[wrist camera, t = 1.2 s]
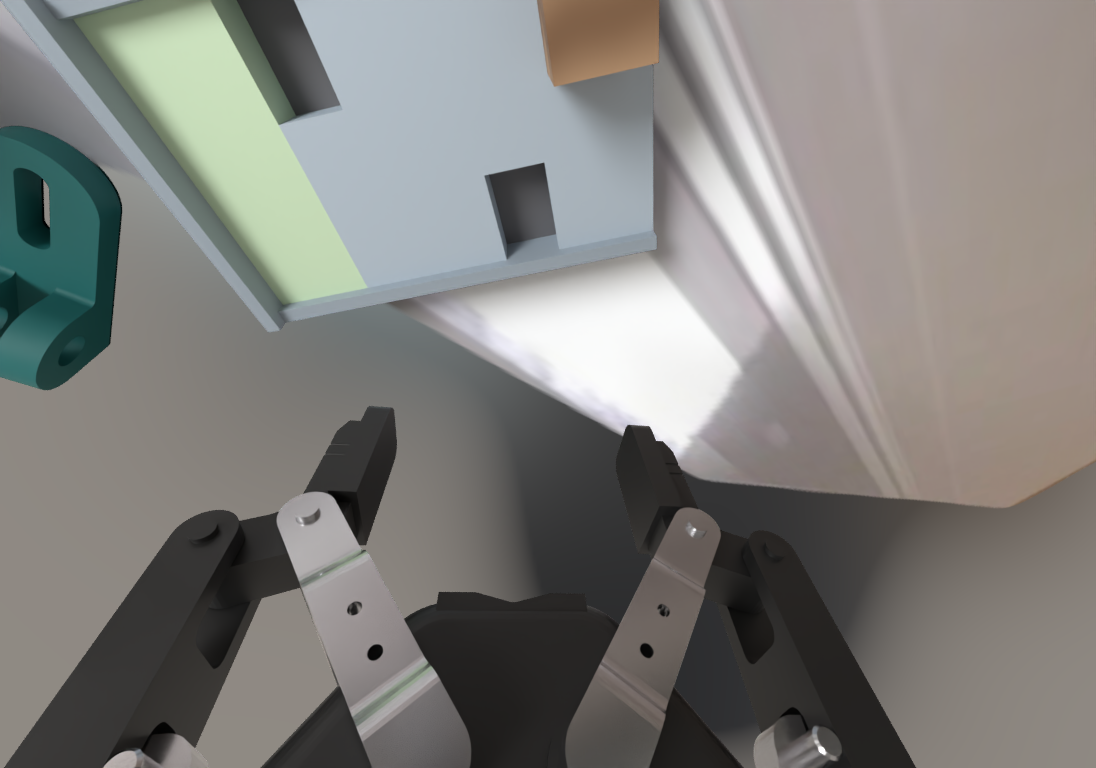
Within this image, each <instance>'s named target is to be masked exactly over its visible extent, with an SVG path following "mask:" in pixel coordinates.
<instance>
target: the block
mask: <svg viewBox="0 0 1096 768" xmlns="http://www.w3.org/2000/svg"><path fill="white" fill-rule="evenodd" d="M537 5H538V12H539V19H540V26H541V33H542V40H543V47H544V54H545V61H546V67H547V74H548V76H549V78H550V80H551V82H552V84H553V86H554V87H556V86H560V85H565V84H569V83H573V82H578V81H582V80H586V79H591V78H595V77H599V76H604V75H608V74H612V73H617V72H621V71H625V70H630V69H634V68H638V67H643V66H647V65H651V64H656V63H659V0H537Z"/></svg>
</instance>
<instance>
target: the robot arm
mask: <svg viewBox="0 0 1096 768" xmlns="http://www.w3.org/2000/svg"><path fill="white" fill-rule="evenodd" d="M396 449H397V439H396V427H395V416H394V409H393V408H389V407H374V406H369V407H368V408H367V410H366V412H365V414H364V416H363V418H362V420H361V421H349V422H348V423H346V424H345V425H344V426H343V427H341V428H340V429H339V430H338V431H337V432H336V434H335V436H334V438H333V440H332V442H331V445H330V446H329V447H328V449H327V451H326V454H325V455H324V456H323V459H322V460H321V462H320V464H319V466H318V468H317V469H316V472H315V473H314V475H313V477H312V479H311V481H310V482H309V484H308V486H307V488H306V490H305V492H304V493H303V494H302V495H299V496H297V497H295V498H293V499H291V500H290V501H288V502H287V503H286V504H285V505H284V506H283V507H282V508H281V510H280V511H279V512H276V513H274V514H270V515H266V516H261V517H256V518H251V519H247V520H242V521H239V520H238V518H237V516H236V515H235V514H234V513H232V512H229V511H224V510H213V511H208V512H204V513H201V514H198V515H196V516H194V517H192V518H190V519H188V520H186V521H185V522H183V523H182V524H181V525H180V526H178V527H177V528H176V529H175V530H174V532H173V533H172V534H171V535H170V537H169V538H168V540H167V541H166V542H165V544H164V545H163V546H162V548H161V549H160V551H159V552H158V553H157V555H156V556H155V558H154V559H153V560H152V562H151V563H150V565H149V566H148V567H147V569H146V570H145V571H144V573H143V574H142V576H141V577H140V579H139V580H138V581H137V583H136V584H135V586H134V587H133V588H132V590H131V591H130V592H129V594H128V595H127V597H126V598H125V600H124V601H123V602H122V604H121V605H120V606H119V608H118V609H117V611H116V612H115V613H114V615H113V616H112V618H111V619H110V620H109V622H108V623H107V625H106V626H105V627H104V629H103V630H102V632H101V633H100V634H99V636H98V637H97V639H96V640H95V641H94V643H93V644H92V646H91V647H90V648H89V650H88V651H87V653H86V654H85V655H84V657H83V658H82V660H81V661H80V662H79V664H78V665H77V667H76V668H75V670H74V671H73V672H72V674H71V675H70V676H69V678H68V679H67V681H66V682H65V683H64V685H63V686H62V687H61V689H60V690H59V692H58V693H57V695H56V696H55V697H54V699H53V700H52V701H51V703H50V704H49V706H48V707H47V708H46V710H45V711H44V713H43V714H42V716H41V717H40V718H39V720H38V721H37V722H36V724H35V725H34V727H33V728H32V730H31V731H30V732H29V734H28V735H27V736H26V738H25V740H24V741H23V742H22V743H21V745H20V746H19V748H18V749H17V750H16V752H15V753H14V755H13V756H12V757H11V759H10V760H9V762H8V763H7V764H6V766H5V767H4V768H209V765H208V762H207V761H206V759H205V758H204V757H203V756H202V755H201V754H200V753H199V752H198V751H197V750H196V749H195V747H196V745H197V742H198V740H199V738H200V736H201V733H202V731H203V729H204V727H205V725H206V722H207V720H208V718H209V716H210V713H211V711H212V709H213V707H214V704H215V702H216V700H217V698H218V695H219V693H220V691H221V689H222V686H223V684H224V682H225V679H226V677H227V675H228V673H229V670H230V668H231V666H232V664H233V662H234V659H235V657H236V655H237V652H238V650H239V648H240V646H241V644H242V641H243V639H244V637H245V635H246V632H247V630H248V628H249V626H250V623H251V621H252V619H253V617H254V614H255V612H256V610H257V607H258V605H259V603H260V601H261V599H262V598H264V597H268V596H272V595H275V594H279V593H282V592H286V591H290V590H293V589H297V588H300V589H301V592H302V594H303V597H304V600H305V602H306V605H307V607H308V610H309V612H310V615H311V618H312V620H313V623H314V625H315V628H316V631H317V633H318V636H319V638H320V641H321V644H322V647H323V649H324V652H325V655H326V657H327V660H328V663H329V665H330V668H331V671H332V673H333V676H334V678H335V681H336V683H337V687H336V688H335V690H334V691H333V692H332V693H331V694H330V695H329V696H328V697H327V698H326V699H325V700H324V701H323V702H322V703H321V704H320V705H319V707H318V708H317V709H316V710H315V711H314V712H313V713H312V714H311V715H310V716H309V717H308V718H307V719H306V720H305V721H304V722H303V723H302V724H301V726H300V727H299V728H298V729H297V730H296V731H295V732H294V733H293V734H292V735H291V736H290V737H289V738H288V739H287V740H286V741H285V742H284V744H283V745H282V746H281V747H280V748H279V749H278V750H277V751H276V752H275V753H274V754H273V755H272V756H271V757H270V758H269V759H268V760H267V762H265V764H264V765H263V766H262V767H261V768H743V767H742V765H741V764H740V763H739V762H738V761H737V759H736V758H735V757H734V756H733V755H732V754H731V753H730V752H729V750H728V749H727V748H726V747H725V746H724V744H723V743H722V742H721V741H720V740H719V739H718V738H717V736H716V735H715V734H714V733H713V732H712V731H711V729H710V728H709V727H708V726H707V725H706V724H705V722H704V721H703V720H702V719H701V718H700V717H699V715H698V714H697V713H696V712H695V711H694V710H693V708H692V707H691V706H690V705H689V704H688V703H687V702H686V701H685V699H684V698H683V697H682V696H681V695H680V693H679V692H678V691H677V690H676V689H675V688H674V683H675V681H676V678H677V675H678V672H679V669H680V666H681V663H682V660H683V657H684V654H685V651H686V648H687V645H688V643H689V640H690V637H691V634H692V631H693V628H694V625H695V622H696V619H697V616H698V613H699V610H700V607H701V604H702V601H703V598H705V599H708V600H711V601H714V602H716V603H717V605H718V608H719V611H720V614H721V617H722V620H723V623H724V626H725V629H726V632H727V635H728V637H729V640H730V643H731V646H732V649H733V652H734V655H735V658H736V661H737V664H738V667H739V670H740V672H741V675H742V678H743V681H744V684H745V687H746V690H747V693H748V696H749V699H750V702H751V704H752V707H753V710H754V713H755V716H756V719H757V722H758V725H759V728H760V731H761V734H760V735H759V736H758V737H757V739H756V741H755V745H754V761H755V765H756V768H916V767H915V765H914V763H913V761H912V760H911V758H910V756H909V754H908V752H907V751H906V749H905V747H904V745H903V744H902V742H901V740H900V738H899V736H898V735H897V733H896V731H895V729H894V728H893V726H892V724H891V722H890V720H889V718H888V717H887V715H886V713H885V711H884V710H883V708H882V706H881V704H880V702H879V701H878V699H877V697H876V695H875V693H874V692H873V690H872V688H871V686H870V685H869V683H868V681H867V679H866V678H865V676H864V674H863V672H862V670H861V668H860V667H859V665H858V663H857V662H856V660H855V658H854V656H853V654H852V653H851V651H850V649H849V647H848V645H847V643H846V642H845V640H844V638H843V636H842V635H841V633H840V631H839V629H838V628H837V626H836V624H835V622H834V620H833V619H832V617H831V615H830V613H829V611H828V610H827V608H826V606H825V604H824V602H823V600H822V599H821V597H820V595H819V594H818V592H817V590H816V588H815V586H814V584H813V583H812V581H811V579H810V577H809V576H808V574H807V572H806V570H805V569H804V567H803V565H802V563H801V561H800V559H799V558H798V556H797V554H796V552H795V551H794V549H793V548H792V547H791V546H790V545H789V544H788V543H787V542H786V541H785V540H784V539H782V538H781V537H779V536H778V535H776V534H774V533H771V532H768V531H760V530H759V531H755V532H753V533H752V534H751V535H750V537H749V538H748V539H746V538H743V537H740V536H737V535H733V534H731V533H728V532H724V531H722V530H720V529H719V527H718V525H717V523H716V522H715V521H714V520H713V519H712V518H711V517H710V516H709V515H708V514H706V513H705V512H703V511H701V510H699V509H698V507H697V505H696V502H695V500H694V498H693V496H692V494H691V491H690V489H689V487H688V485H687V483H686V480H685V478H684V476H683V475H682V471H681V469H680V467H679V466H678V462H677V460H676V458H675V456H674V453H673V452H672V451H671V449H670V448H669V447H668V446H667V445H666V444H665V443H664V442H663V441H656V440H655V437H654V435H653V432H652V430H651V428H650V427H649V426H638V425H628V426H627V427H626V429H625V432H624V435H623V438H622V442H621V444H620V447H619V450H618V453H617V457H616V473H617V477H618V481H619V484H620V488H621V491H622V495H623V499H624V503H625V507H626V510H627V514H628V517H629V521H630V525H631V529H632V532H633V536H634V540H635V544H636V547H637V551H638V553H640V554H650V556H651V558H652V561H651V563H650V566H649V567H648V569H647V572H646V573H645V575H644V577H643V580H642V581H641V583H640V585H639V588H638V589H637V592H636V593H635V595H634V597H633V599H632V601H631V603H630V605H629V607H628V609H627V611H626V613H625V616H624V617H623V619H622V621H621V623H620V625H619V624H618V623H617V622H616V621H615V620H613V619H612V618H610V617H609V616H608V615H606V614H605V613H603V612H601V611H599V610H597V609H595V608H593V607H590V606H587V605H586V598H585V594H561V593H550V594H546V595H542V596H538V597H534V598H531V599H527V600H523V601H519V602H508V601H504V600H501V599H498V598H494V597H491V596H487V595H483V594H480V593H476V592H439V594H438V600H437V604H434V605H430V606H427V607H425V608H422V609H420V610H418V611H416V612H414V613H412V614H410V615H409V616H408V617H406V618H403V616H402V615H401V613H400V611H399V609H398V607H397V605H396V604H395V602H394V600H393V598H392V596H391V594H390V592H389V591H388V589H387V587H386V585H385V583H384V582H383V579H382V578H381V576H380V574H379V572H378V570H377V568H376V566H375V564H374V563H373V561H372V559H371V557H370V555H369V554H368V552H367V551H366V550H363V551H362V549H361V548H360V546H359V545H366V544H367V541H368V537H369V535H370V532H371V529H372V526H373V523H374V520H375V517H376V514H377V511H378V508H379V505H380V502H381V499H382V496H383V493H384V490H385V487H386V484H387V481H388V478H389V475H390V472H391V469H392V466H393V463H394V460H395V456H396Z"/></svg>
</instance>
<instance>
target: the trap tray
mask: <svg viewBox="0 0 1096 768" xmlns="http://www.w3.org/2000/svg"><path fill="white" fill-rule="evenodd" d="M0 1H1V2H2V4H3V5H4V6H5V7H6V9H7V10H8V11H9V12H10V13H11V15H12V16H13V17H14V18H15V20H16V21H17V22H18V23H19V25H20V26H21V27H22V28H23V30H24V31H25V32H26V33H27V35H28V36H29V37H30V38H31V39H32V41H33V42H34V43H35V44H36V46H37V47H38V48H39V49H40V51H41V52H42V53H43V54H44V56H45V57H46V58H47V59H48V61H49V62H50V63H51V64H52V65H53V67H54V68H55V69H56V70H57V72H58V73H59V74H60V75H61V77H62V78H63V79H64V80H65V82H66V83H67V84H68V85H69V86H70V88H71V89H72V90H73V91H74V93H75V94H76V95H77V96H78V98H79V99H80V100H81V101H82V103H83V104H84V105H85V106H86V108H87V109H88V110H89V111H90V112H91V114H92V115H93V116H94V117H95V119H96V120H97V121H98V122H99V124H100V125H101V126H102V127H103V129H104V130H105V131H106V132H107V134H108V135H109V136H110V137H111V138H112V140H113V141H114V142H115V143H116V145H117V146H118V147H119V148H120V150H121V151H122V152H123V153H124V155H125V156H126V157H127V158H128V160H129V161H130V162H131V163H132V164H133V166H134V167H135V168H136V169H137V171H138V172H139V173H140V174H141V176H142V177H143V178H144V179H145V181H146V182H147V183H148V184H149V186H150V187H151V188H152V189H153V190H154V192H155V193H156V194H157V195H158V197H159V198H160V199H161V200H162V202H163V203H164V204H165V205H166V206H167V208H168V209H169V210H170V211H171V213H172V214H173V215H174V216H175V218H176V219H177V220H178V221H179V223H180V224H181V225H182V226H183V228H184V229H185V230H186V231H187V233H188V234H189V235H190V236H191V237H192V239H193V240H194V241H195V242H196V244H197V245H198V246H199V247H200V248H201V250H202V251H203V252H204V253H205V255H206V256H207V257H208V259H209V260H210V261H211V262H212V263H213V265H214V266H215V267H216V268H217V270H218V271H219V272H220V273H221V275H222V276H223V277H224V278H225V280H226V281H227V282H228V283H229V285H230V286H231V287H232V288H233V289H234V291H235V292H236V293H237V294H238V296H239V297H240V298H241V299H242V301H243V302H244V303H245V304H246V306H247V307H248V308H249V309H250V310H251V312H252V313H253V314H254V315H255V317H256V318H257V319H258V320H259V322H260V323H261V324H262V325H263V326H264V328H265V329H266V330H267V331H268V332H273V331H278V330H281V329H282V327H283V326H284V324H285V323H286V322H291V321H296V320H301V319H306V318H311V317H316V316H321V315H327V314H332V313H337V312H342V311H347V310H352V309H357V308H362V307H367V306H372V305H377V304H382V303H387V302H393V301H398V300H403V299H408V298H413V297H418V296H423V295H428V294H433V293H438V292H443V291H448V290H453V289H458V288H463V287H468V286H473V285H479V284H484V283H489V282H494V281H499V280H504V279H509V278H514V277H519V276H524V275H529V274H534V273H539V272H544V271H549V270H554V269H560V268H565V267H570V266H575V265H580V264H585V263H590V262H595V261H600V260H605V259H610V258H615V257H620V256H625V255H630V254H635V253H641V252H646V251H651V250H656V249H657V236H656V234H655V233H654V231H653V64H651V65H647V66H643V67H638V68H634V69H630V70H625V71H621V72H617V73H612V74H608V75H604V76H599V77H595V78H591V79H586V80H582V81H578V82H573V83H569V84H565V85H560V86H556V87H554V86H553V84H552V82H551V80H550V78H549V76H548V74H547V67H546V61H545V54H544V47H543V40H542V33H541V26H540V19H539V12H538V5H537V0H0Z"/></svg>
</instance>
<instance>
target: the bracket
mask: <svg viewBox="0 0 1096 768" xmlns="http://www.w3.org/2000/svg"><path fill="white" fill-rule="evenodd" d="M43 180H44V181H45V182H46V183H47V185H48V187H49V200H50V227H49V226H48V225H47V223H46V222H45V217H44V183H43ZM121 221H122V202H121V199H120V196H119V193H118V191H117V189H116V188H115V186H114V184H113V182H112V181H111V180H110V178H109V177H108V176H107V174H106V173H105V172H104V171H103V170H102V169H101V168H100V167H99V165H96V164H94V163H93V162H91V161H90V160H89V159H88V158H87V157H86V156H84V155H83V154H82V153H81V152H79V151H78V150H77V149H75V148H74V147H72V146H70V145H69V144H67V143H66V142H64V141H62V140H60V139H58V138H56V137H54V136H52V135H50V134H48V133H45V132H42V131H39V130H36V129H33V128H28V127H22V126H9V127H3V128H0V377H2V378H5V379H8V380H12V381H15V382H18V383H22V384H25V385H29V386H32V387H35V388H38V389H42V390H51V389H54V388H56V387H58V386H60V385H62V384H63V383H65V382H66V381H68V380H69V379H70V378H71V377H72V376H74V375H75V374H76V373H77V372H78V371H80V370H81V369H82V368H83V367H84V366H85V365H87V364H88V363H89V362H90V361H91V360H92V359H94V358H95V357H96V356H97V355H98V354H99V353H100V352H102V351H103V350H104V349H105V348H106V347H108V345H110V343H111V332H112V321H113V308H114V299H115V288H116V276H117V265H118V254H119V243H120V232H121Z"/></svg>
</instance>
